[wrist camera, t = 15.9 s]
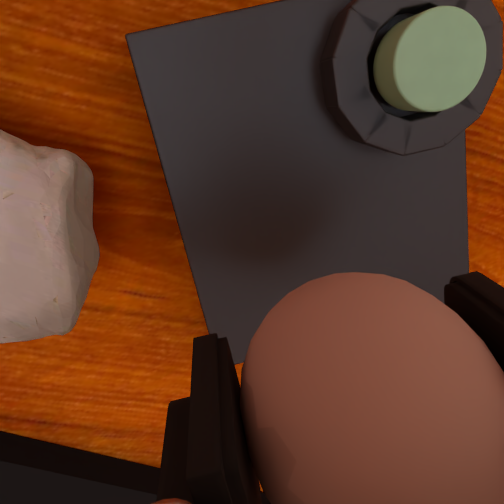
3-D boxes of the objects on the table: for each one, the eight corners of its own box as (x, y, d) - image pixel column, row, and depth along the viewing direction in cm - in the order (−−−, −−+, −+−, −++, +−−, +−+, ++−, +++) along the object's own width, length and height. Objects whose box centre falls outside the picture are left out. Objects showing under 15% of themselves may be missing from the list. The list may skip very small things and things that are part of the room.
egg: (356, 421, 13) (501, 729, 7) (201, 369, 12) (196, 683, 5) (448, 279, 12) (741, 494, 5) (284, 205, 10) (406, 365, 4)
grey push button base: (133, 41, 16) (114, 26, 13) (445, -27, 17) (503, -58, 13) (217, 346, 21) (219, 391, 18) (457, 289, 21) (502, 323, 18)
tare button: (367, 26, 14) (389, 16, 12) (454, 7, 14) (487, -5, 12) (376, 119, 15) (397, 121, 13) (457, 101, 15) (488, 101, 14)
